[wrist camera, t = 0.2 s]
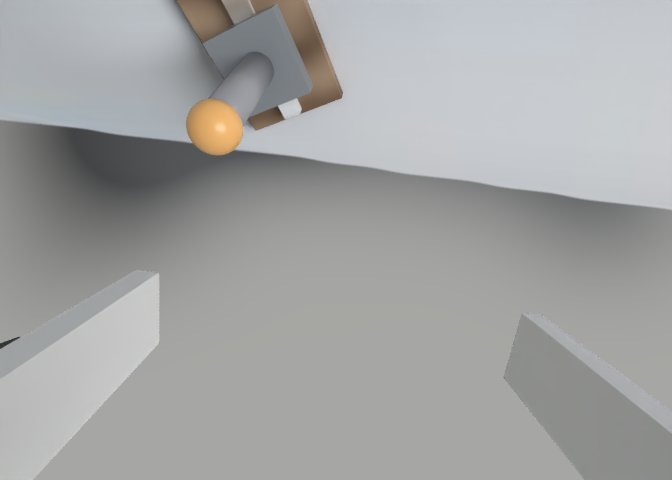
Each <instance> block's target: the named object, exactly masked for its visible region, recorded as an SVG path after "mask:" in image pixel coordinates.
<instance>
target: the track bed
mask: <svg viewBox="0 0 672 480" xmlns="http://www.w3.org/2000/svg"><path fill="white" fill-rule="evenodd" d="M176 1H177V2H178V4H179V6H180V7H181V9H182V10H183V12H184V14H185V15H186V17H187V19H188V20H189V22H190V24H191V25H192V27H193V29H194V30H195V32H196V33H197V35H198V37H199V38H200V40H201V42H202V43H204V42H205V41H206V40H207V39H209V38H210V37H212V36H214V35H216V34H218V33H220V32H222V31H224V30H225V29H226V28H228V27H229V26H231V25H233V24H234V25H235V24H237V23H239V22H241V21H243V20H245V19H247V18H249V17H250V16H252V15H254V14H255V13H256V12H258V11H260V10H262V9H263V10H264V9H266V8H268V7H270V6H272V5H273V4H275V3H277V4H278V6H279V8H280V11H281V13H282V15H283V18H284V20H285V22H286V24H287V27H288V29H289V31H290V33H291V36H292V38H293V40H294V43H295V45H296V47H297V49H298V52H299V54H300V56H301V58H302V61H303V63H304V65H305V68H306V70H307V72H308V74H309V77H310V79H311V81H312V83H313V88H312V90H311V93H309V94H306V95H304V96H301V97H299V98H296V99H294V100H291V101H289V102H286V103H283V104H281V105H278V106H276V107H273V108H271V109H268V110H266V111H263V112H261V113H258V114H256V115H253V116H251V117H249V118H248V119H249V120H250V122H251V124H252V125H253V127H254V129H255V130H259V129H261V128H264V127H267V126H269V125H272V124H275V123H277V122H280V121H283V120H286V119H288V118H291V117H294V116H296V115H299V114H301V113H304V112H306V111H309V110H312V109H314V108H317V107H319V106H322V105H325V104H327V103H330V102H333V101H335V100H338V99H341V98H342V94H343V92H342V89H341V87H340V84H339V82H338V79H337V77H336V74H335V71H334V69H333V66H332V64H331V61H330V58H329V56H328V53H327V51H326V48H325V46H324V43H323V40H322V38H321V35H320V33H319V30H318V27H317V25H316V22H315V20H314V17H313V14H312V12H311V9H310V7H309V4H308V2H307V0H176Z"/></svg>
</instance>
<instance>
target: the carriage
mask: <svg viewBox="0 0 672 480" xmlns="http://www.w3.org/2000/svg"><path fill="white" fill-rule="evenodd" d="M202 44H203V46H204V47H205V49H206V51H207V52H208V54H209V56H210V57H211V59H212V61H213V62H214V64H215V65H216V67H217V69H218V70H219V72H220V74H221V75H222V77H223V79H224V81H223V82H222V84H221V85H220V86H219V87H218V88H217V89H216V90H215V92H214V93H213V94H212V95H211V96H210V97H209V98H208V99H206V100H202V101H200V102H198V103H196V104H195V105H194V106H193V107H192V108H191V109H190V111H189V113H188V116H187V120H186V128H187V133H188V135H189V138H190V139H191V141H192V142H193V144H194V145H195V146H196V147H198V148H199V149H201V150H202V151H203V152H205V153H208V154H211V155H224V154H227V153H230V152H231V151H233V150H234V149H235V148H236V147H237V146H238V145H239V143H240V141H241V139H242V135H243V126H244V125H245V123H246V121H247V120H248V118H249V117H251V116H253V115H256V114H258V113H261V112H263V111H266V110H268V109H271V108H273V107H276V106H278V105H281V104H283V103H286V102H289V101H291V100H294V99H296V98H299V97H301V96H304V95H306V94H309V93H311V90H312V88H313V83H312V81H311V79H310V77H309V74H308V72H307V70H306V68H305V65H304V63H303V61H302V58H301V56H300V54H299V52H298V49H297V47H296V45H295V43H294V40H293V38H292V36H291V33H290V31H289V29H288V27H287V24H286V22H285V20H284V18H283V15H282V13H281V11H280V8H279V6H278V4H277V3H275V4H273V5H272V6H270V7H268V8H266V9H264V10H263V9H262V10H260V11H258V12H256V13H255V14H254V15H252V16H250V17H249V18H247V19H245V20H243V21H241V22H239V23H237V24H235V25H234V24H233V25H231V26H229V27H228V28H226V29H225V30H224V31H222V32H220V33H218V34H216V35H214V36H212V37H210V38H209V39H207V40H206V41H205V42H204V43H202Z"/></svg>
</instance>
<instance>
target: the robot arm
mask: <svg viewBox="0 0 672 480" xmlns="http://www.w3.org/2000/svg"><path fill="white" fill-rule="evenodd" d="M158 343H159V273H158V272H150V271H142V270H136V271H134V272H132V273H130V274H129V275H127V276H125V277H124V278H122V279H120V280H118V281H117V282H115V283H114V284H111V285H110V286H108V287H106V288H105V289H103V290H101V291H99V292H98V293H96V294H94V295H93V296H91V297H89V298H87V299H86V300H84V301H82V302H81V303H79V304H77V305H76V306H74V307H72V308H70V309H68V310H67V311H65V312H63V313H62V314H60V315H58V316H56V317H55V318H53V319H51V320H50V321H48V322H46V323H44V324H43V325H41V326H39V327H38V328H36V329H34V330H32V331H31V332H29V333H27V334H26V335H24V336H22V337H17V338H14V339H11V340H9V341H6V342H3V343H0V480H33V479H34V478H35V477H36V476H37V475H38V474H39V473H40V472H41V470H42V469H43V468H44V467H45V466H46V465H47V464H48V463H49V462H50V461H51V460H52V458H53V457H54V456H55V455H56V454H57V453H58V452H59V451H60V450H61V449H62V448H63V447H64V445H65V444H66V443H67V442H68V441H69V440H70V439H71V438H72V437H73V436H74V435H75V433H76V432H77V431H78V430H79V429H80V428H81V427H82V426H83V425H84V424H85V423H86V422H87V420H88V419H89V418H90V417H91V416H92V415H93V414H94V413H95V412H96V411H97V410H98V408H99V407H100V406H101V405H102V404H103V403H104V402H105V401H106V400H107V399H108V398H109V397H110V395H111V394H112V393H113V392H114V391H115V390H116V389H117V388H118V387H119V386H120V385H121V383H122V382H123V381H124V380H125V379H126V378H127V377H128V376H129V375H130V374H131V373H132V372H133V371H134V369H135V368H136V367H137V366H138V365H139V364H140V363H141V362H142V361H143V360H144V359H145V357H146V356H147V355H148V354H149V353H150V352H151V351H152V350H153V349H154V348H155V347H156V345H157V344H158ZM504 379H505V380H506V381H507V383H508V384H509V385H510V387H511V388H512V389H513V390H514V392H515V393H516V394H517V395H518V397H519V398H520V399H521V400H522V402H524V404H525V405H526V407H527V408H528V409H529V411H530V412H531V413H532V414H533V416H534V417H535V418H536V419H537V421H538V422H539V423H540V424H541V426H542V427H543V428H544V429H545V431H546V432H547V433H548V434H549V436H550V437H551V438H552V440H553V441H554V442H555V443H556V445H558V447H559V448H560V449H561V451H562V452H563V453H564V455H565V456H566V457H567V458H568V460H569V461H570V462H571V463H572V465H573V466H574V467H575V468H576V470H577V471H578V472H579V473H580V475H581V476H582V477H583V478H584V480H672V411H671V410H670V409H668V408H667V407H665V406H664V405H663V404H661V403H660V402H659V401H657V400H656V399H654V398H653V397H652V396H650V395H649V394H648V393H647V392H645V391H644V390H642V389H641V388H640V387H638V386H637V385H636V384H634V383H633V382H632V381H630V380H629V379H627V378H626V377H625V376H623V375H622V374H621V373H619V372H618V371H617V370H615V369H614V368H613V367H611V366H610V365H609V364H607V363H606V362H604V361H603V360H602V359H601V358H599V357H598V356H596V355H595V354H594V353H592V352H591V351H590V350H588V349H587V348H586V347H584V346H583V345H581V344H580V343H579V342H578V341H576V340H575V339H573V338H572V337H571V336H569V335H568V334H567V333H565V332H564V331H563V330H561V329H560V328H559V327H557V326H556V325H554V324H553V323H552V322H550V321H549V320H548V319H546V318H545V317H543V316H542V315H536V314H527V313H522V315H521V318H520V322H519V325H518V329H517V332H516V335H515V339H514V342H513V346H512V349H511V353H510V357H509V360H508V363H507V367H506V370H505V374H504Z"/></svg>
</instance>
